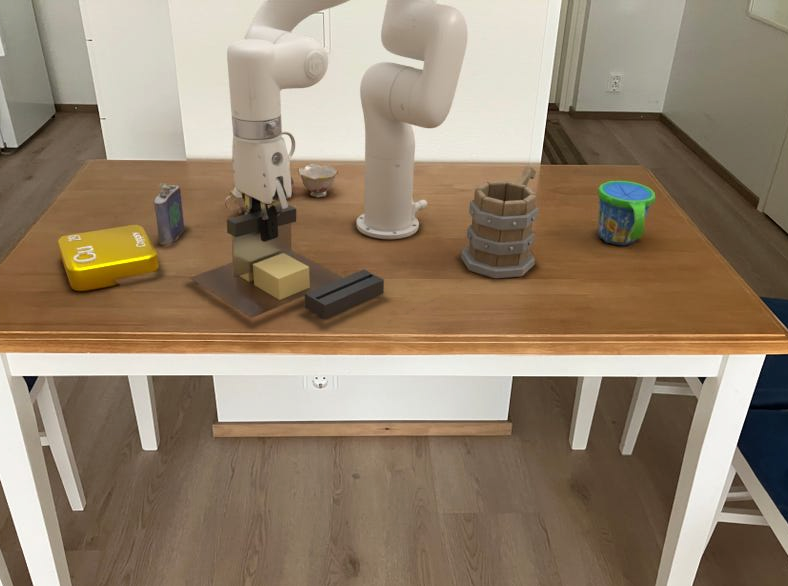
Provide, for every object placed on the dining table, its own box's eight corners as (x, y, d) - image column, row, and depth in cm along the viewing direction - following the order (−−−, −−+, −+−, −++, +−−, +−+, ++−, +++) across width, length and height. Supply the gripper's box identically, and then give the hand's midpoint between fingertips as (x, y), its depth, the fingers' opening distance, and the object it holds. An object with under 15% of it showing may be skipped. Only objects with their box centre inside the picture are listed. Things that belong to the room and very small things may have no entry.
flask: (170, 247, 146) (162, 193, 140) (155, 246, 147) (146, 192, 141) (187, 228, 154) (180, 176, 148) (173, 226, 154) (166, 175, 148)
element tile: (162, 277, 137) (158, 253, 134) (73, 294, 131) (67, 268, 128) (144, 243, 148) (140, 220, 145) (60, 257, 142) (55, 233, 139)
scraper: (287, 257, 137) (287, 204, 132) (295, 262, 136) (296, 208, 131) (228, 274, 130) (226, 218, 124) (236, 279, 128) (235, 223, 123)
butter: (284, 273, 136) (283, 252, 134) (309, 287, 132) (309, 266, 130) (254, 285, 132) (252, 264, 130) (279, 300, 128) (278, 278, 126)
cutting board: (281, 251, 146) (281, 244, 145) (345, 286, 136) (345, 278, 135) (190, 285, 134) (189, 277, 134) (252, 325, 124) (251, 317, 123)
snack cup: (655, 256, 149) (667, 206, 143) (601, 255, 148) (611, 205, 143) (631, 222, 162) (641, 175, 156) (581, 222, 161) (589, 175, 156)
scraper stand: (363, 289, 135) (363, 269, 133) (383, 300, 132) (384, 279, 130) (305, 314, 127) (304, 293, 125) (325, 326, 124) (324, 305, 122)
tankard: (513, 285, 138) (524, 205, 129) (451, 265, 143) (457, 188, 135) (556, 245, 152) (569, 171, 143) (498, 229, 157) (507, 157, 149)
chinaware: (252, 236, 155) (252, 157, 145) (199, 205, 163) (195, 128, 153) (347, 197, 173) (353, 125, 163) (295, 171, 181) (298, 101, 171)
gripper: (309, 134, 117) (311, 245, 127) (246, 110, 127) (253, 215, 137) (269, 144, 113) (275, 258, 123) (207, 118, 122) (217, 227, 132)
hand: (263, 235), depth 130 cm, fingers closed on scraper, 2 cm apart
